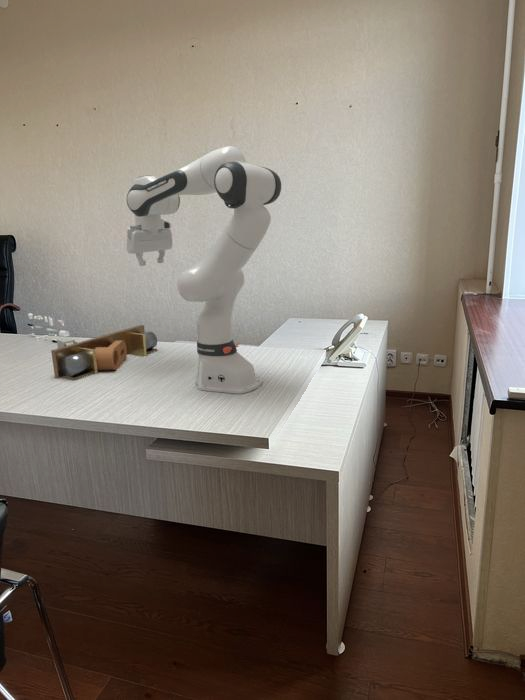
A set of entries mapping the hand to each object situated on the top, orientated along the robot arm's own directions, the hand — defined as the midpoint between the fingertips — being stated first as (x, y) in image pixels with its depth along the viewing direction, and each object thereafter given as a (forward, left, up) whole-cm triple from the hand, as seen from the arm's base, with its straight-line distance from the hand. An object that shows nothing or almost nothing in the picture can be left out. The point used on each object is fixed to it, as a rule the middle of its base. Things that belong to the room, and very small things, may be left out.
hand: (151, 264), depth 190 cm
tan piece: (+11, +8, -33) cm, 36 cm away
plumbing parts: (+69, -4, -37) cm, 78 cm away
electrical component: (+41, +5, -37) cm, 56 cm away
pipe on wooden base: (+16, +8, -37) cm, 41 cm away
